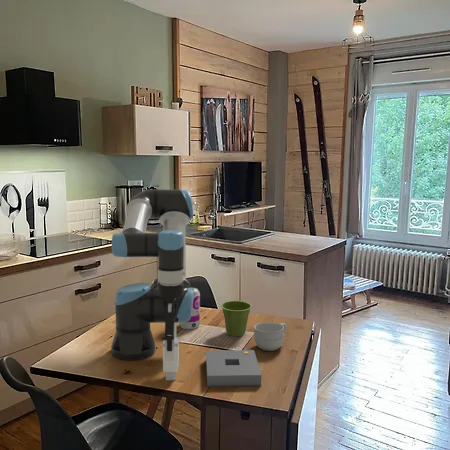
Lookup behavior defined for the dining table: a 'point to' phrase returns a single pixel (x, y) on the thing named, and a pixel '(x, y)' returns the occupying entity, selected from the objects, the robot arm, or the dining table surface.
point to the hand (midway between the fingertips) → (170, 351)
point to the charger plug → (171, 366)
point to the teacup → (269, 335)
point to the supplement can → (193, 313)
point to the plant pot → (236, 316)
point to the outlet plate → (232, 368)
